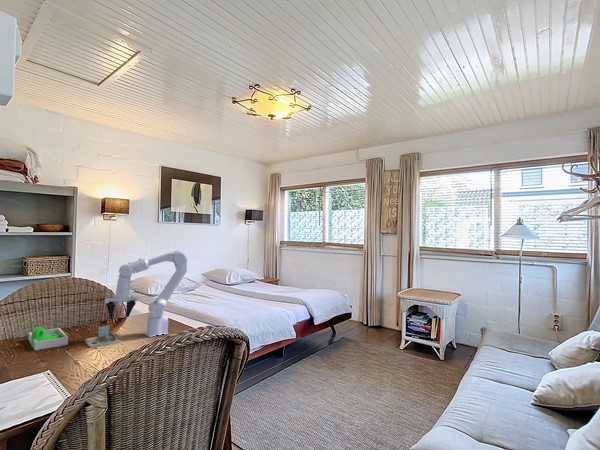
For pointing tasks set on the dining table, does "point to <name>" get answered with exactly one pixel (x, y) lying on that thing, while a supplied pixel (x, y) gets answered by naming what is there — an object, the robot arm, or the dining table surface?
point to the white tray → (50, 340)
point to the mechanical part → (42, 335)
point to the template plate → (102, 342)
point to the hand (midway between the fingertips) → (119, 317)
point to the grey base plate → (101, 338)
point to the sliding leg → (103, 332)
